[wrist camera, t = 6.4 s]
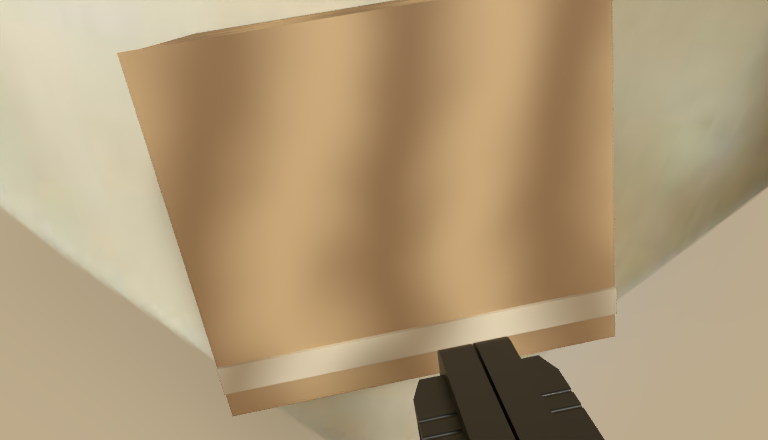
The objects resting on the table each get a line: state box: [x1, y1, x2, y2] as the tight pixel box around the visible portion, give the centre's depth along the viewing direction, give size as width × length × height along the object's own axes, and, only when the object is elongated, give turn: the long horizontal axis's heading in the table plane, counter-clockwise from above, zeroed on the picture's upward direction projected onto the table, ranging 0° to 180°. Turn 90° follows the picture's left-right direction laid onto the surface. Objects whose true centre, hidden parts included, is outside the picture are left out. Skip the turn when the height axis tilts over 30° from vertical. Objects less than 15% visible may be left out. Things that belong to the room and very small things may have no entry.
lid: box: [117, 0, 617, 416], centre depth 20 cm, size 16×14×1 cm
